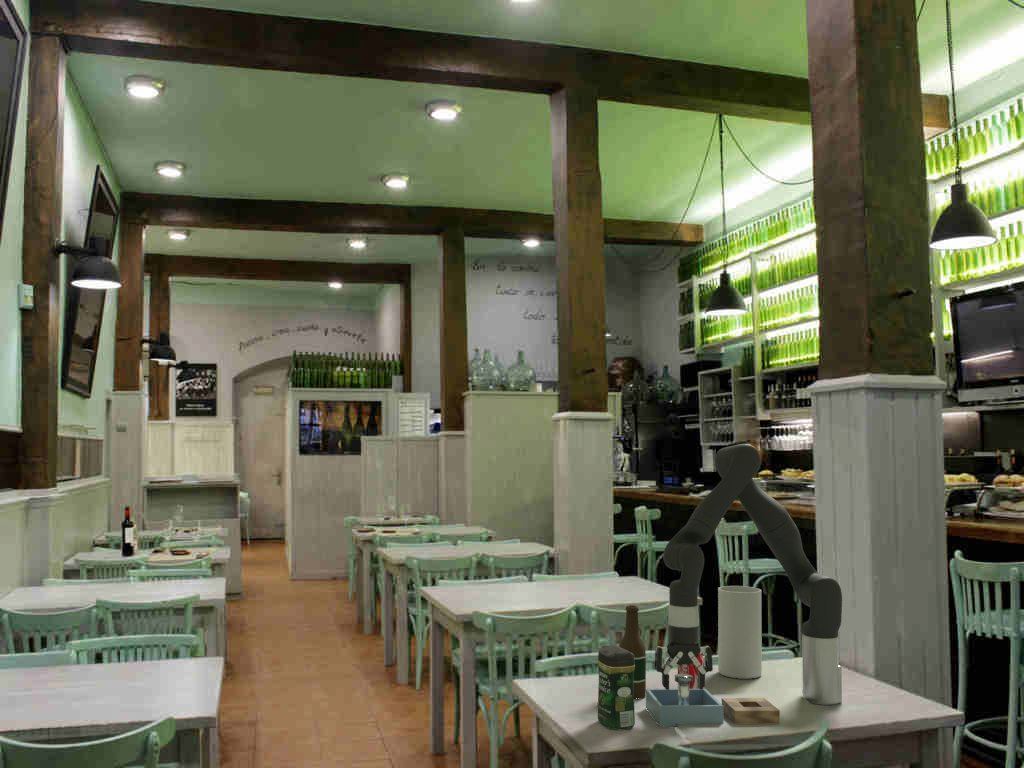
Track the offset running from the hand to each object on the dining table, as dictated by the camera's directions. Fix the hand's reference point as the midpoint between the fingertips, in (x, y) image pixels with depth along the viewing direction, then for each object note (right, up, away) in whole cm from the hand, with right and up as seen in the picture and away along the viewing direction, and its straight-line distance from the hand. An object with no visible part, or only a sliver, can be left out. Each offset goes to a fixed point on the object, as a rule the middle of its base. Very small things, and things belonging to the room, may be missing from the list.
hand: (683, 688), depth 230 cm
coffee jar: (-18, -7, -7) cm, 20 cm away
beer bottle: (-10, -8, +19) cm, 23 cm away
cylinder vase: (+25, -10, +43) cm, 51 cm away
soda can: (+6, -9, +19) cm, 22 cm away
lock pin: (0, -6, 0) cm, 6 cm away
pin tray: (0, -7, 0) cm, 7 cm away
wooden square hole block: (+16, -7, -2) cm, 18 cm away
